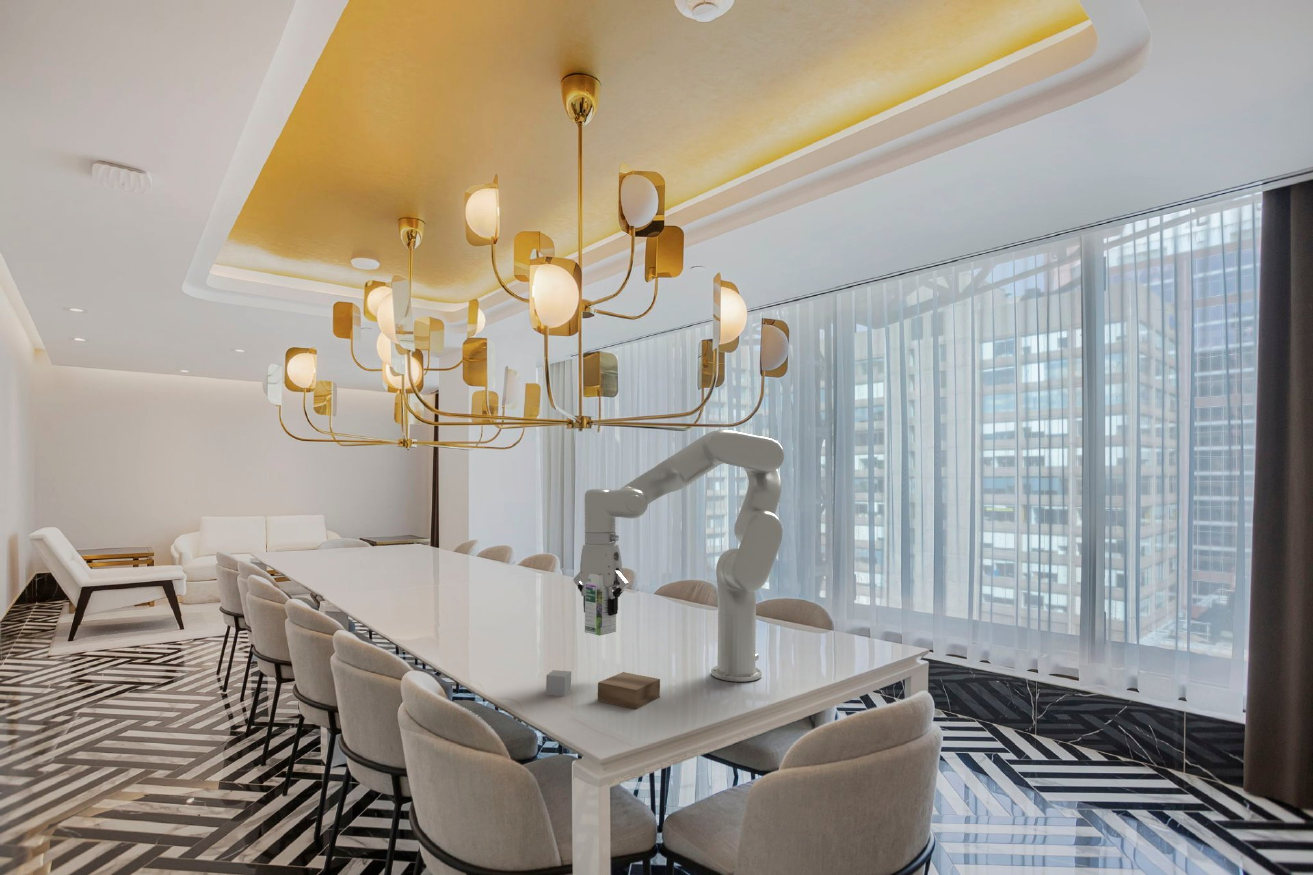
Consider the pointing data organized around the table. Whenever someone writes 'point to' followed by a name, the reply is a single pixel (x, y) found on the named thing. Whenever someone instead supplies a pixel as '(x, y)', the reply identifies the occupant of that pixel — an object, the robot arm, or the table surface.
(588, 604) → the syrup box
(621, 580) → the robot arm
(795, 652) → the table surface
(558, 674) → the grey stone cube
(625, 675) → the walnut base
